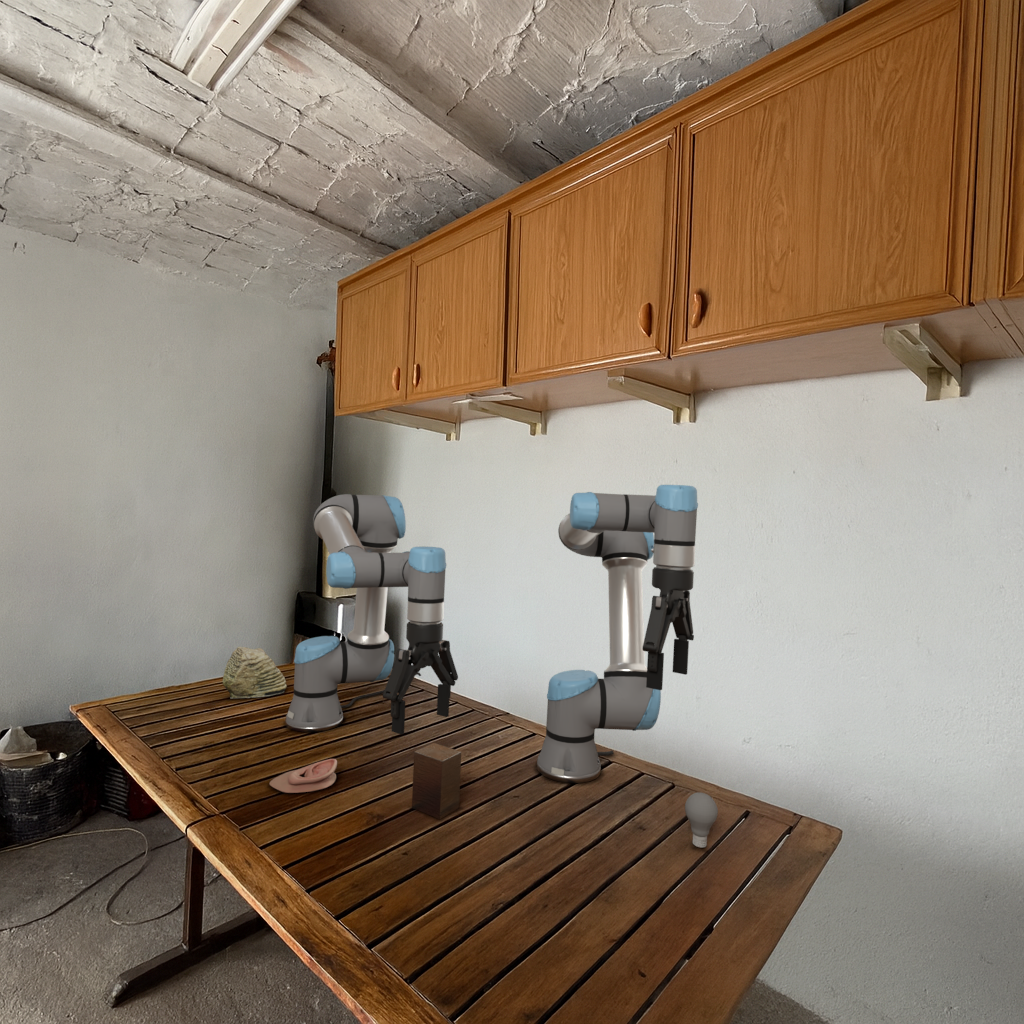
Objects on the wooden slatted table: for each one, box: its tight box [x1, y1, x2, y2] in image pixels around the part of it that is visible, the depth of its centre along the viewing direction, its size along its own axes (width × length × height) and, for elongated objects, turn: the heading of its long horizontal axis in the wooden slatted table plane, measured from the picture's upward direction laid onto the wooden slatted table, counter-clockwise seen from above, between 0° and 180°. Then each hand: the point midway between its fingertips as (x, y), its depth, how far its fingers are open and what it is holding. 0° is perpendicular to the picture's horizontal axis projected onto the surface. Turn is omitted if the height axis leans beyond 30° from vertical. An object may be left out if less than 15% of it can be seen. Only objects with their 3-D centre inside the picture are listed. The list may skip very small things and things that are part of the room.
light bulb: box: [684, 792, 719, 849], centre depth 120 cm, size 6×6×10 cm
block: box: [411, 742, 462, 820], centre depth 131 cm, size 6×8×12 cm
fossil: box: [222, 646, 288, 699], centre depth 198 cm, size 9×18×15 cm, turn 132°
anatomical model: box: [269, 758, 338, 794], centre depth 140 cm, size 13×4×12 cm
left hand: (421, 723), depth 131 cm, fingers open, 13 cm apart
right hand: (667, 680), depth 119 cm, fingers open, 13 cm apart
